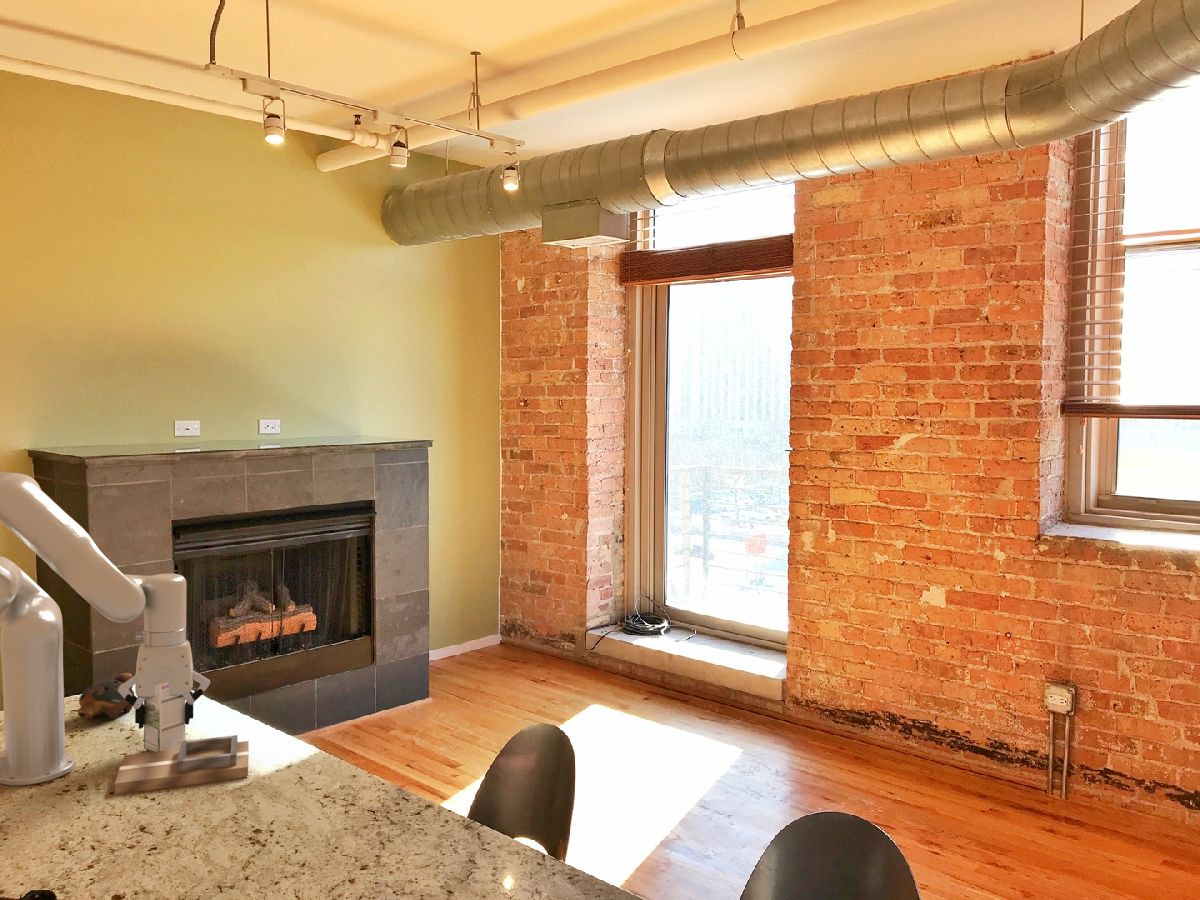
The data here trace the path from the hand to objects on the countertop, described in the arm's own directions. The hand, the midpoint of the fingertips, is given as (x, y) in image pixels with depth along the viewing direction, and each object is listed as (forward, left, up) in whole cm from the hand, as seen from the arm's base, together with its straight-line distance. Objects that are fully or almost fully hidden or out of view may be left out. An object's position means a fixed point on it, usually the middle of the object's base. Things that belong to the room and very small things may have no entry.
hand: (164, 723), depth 179 cm
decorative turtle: (-13, +24, -6) cm, 28 cm away
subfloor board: (+5, -12, -5) cm, 14 cm away
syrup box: (0, 0, -5) cm, 5 cm away
